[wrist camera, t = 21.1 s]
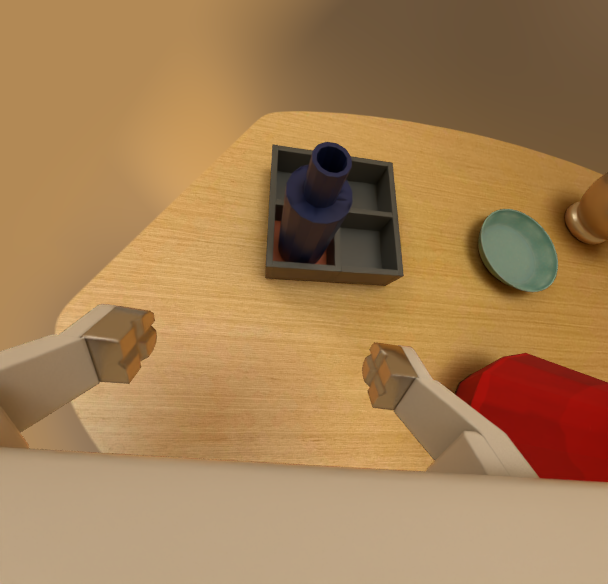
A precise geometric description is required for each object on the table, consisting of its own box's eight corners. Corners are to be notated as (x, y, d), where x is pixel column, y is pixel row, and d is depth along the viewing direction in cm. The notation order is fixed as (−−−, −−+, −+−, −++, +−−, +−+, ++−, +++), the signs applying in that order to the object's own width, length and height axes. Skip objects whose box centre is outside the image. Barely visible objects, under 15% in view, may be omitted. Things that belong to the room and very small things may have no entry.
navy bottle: (277, 266, 32) (290, 189, 17) (279, 224, 34) (292, 119, 18) (322, 269, 33) (373, 199, 18) (322, 229, 35) (368, 132, 19)
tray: (265, 278, 32) (265, 266, 28) (271, 169, 37) (272, 144, 32) (385, 285, 35) (403, 276, 31) (377, 184, 40) (392, 162, 35)
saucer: (550, 297, 40) (569, 293, 37) (476, 294, 38) (491, 290, 35) (529, 220, 44) (546, 212, 41) (460, 213, 41) (473, 204, 39)
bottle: (484, 491, 30) (863, 733, 11) (413, 409, 31) (648, 502, 12) (539, 402, 35) (876, 464, 16) (475, 332, 36) (717, 312, 17)
